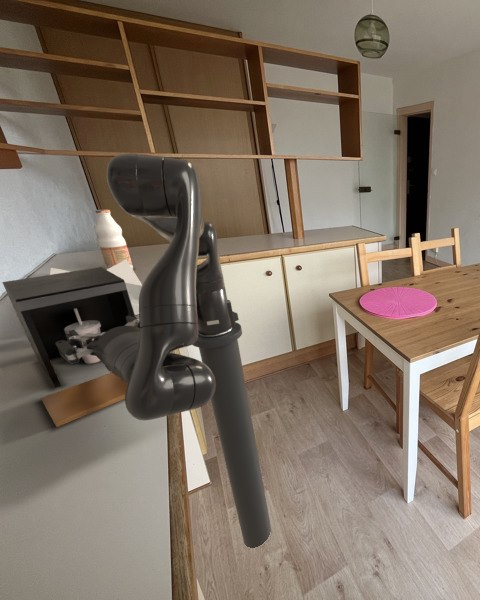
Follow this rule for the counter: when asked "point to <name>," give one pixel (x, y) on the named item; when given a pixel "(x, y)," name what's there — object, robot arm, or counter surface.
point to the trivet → (84, 398)
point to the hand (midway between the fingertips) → (102, 327)
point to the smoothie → (83, 329)
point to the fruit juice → (111, 240)
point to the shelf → (67, 307)
